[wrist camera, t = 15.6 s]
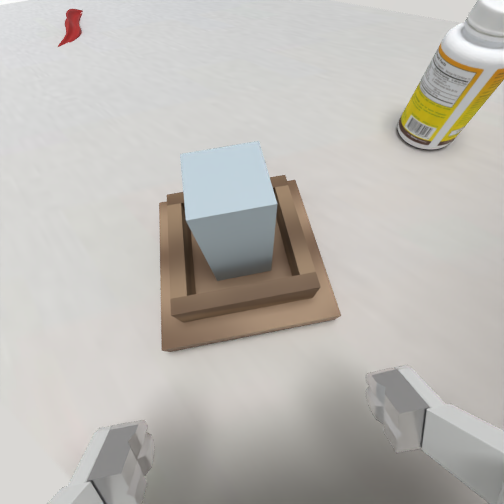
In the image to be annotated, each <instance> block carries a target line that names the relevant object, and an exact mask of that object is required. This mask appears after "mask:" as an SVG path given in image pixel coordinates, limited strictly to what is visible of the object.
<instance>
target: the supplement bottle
mask: <svg viewBox="0 0 504 504" xmlns="http://www.w3.org/2000/svg"><path fill="white" fill-rule="evenodd" d="M503 80H504V0H478V1H477V2H476V4H475V6H474V8H473V9H472V10H471V12H470V13H469V15H468V17H467V19H466V20H465V22H464V23H461V24H459V25H457V26H455V27H453V28H452V29H451V30H450V31H449V32H448V33H447V34H446V35H445V37H444V39H443V40H442V42H441V44H440V46H439V48H438V49H437V51H436V53H435V55H434V57H433V59H432V61H431V62H430V64H429V66H428V68H427V70H426V72H425V73H424V75H423V77H422V79H421V81H420V83H419V85H418V86H417V88H416V90H415V92H414V94H413V96H412V97H411V99H410V101H409V103H408V105H407V107H406V108H405V110H404V112H403V114H402V116H401V118H400V120H399V122H398V132H399V134H400V136H401V137H402V138H403V139H404V140H405V141H406V142H407V143H409V144H411V145H413V146H415V147H418V148H422V149H439V148H442V147H445V146H447V145H448V144H450V143H451V142H452V141H453V140H454V139H455V138H456V137H457V135H458V134H459V133H460V132H461V131H462V129H463V128H464V127H465V126H466V125H467V123H468V122H469V121H470V120H471V118H472V117H473V116H474V115H475V114H476V112H477V111H478V110H479V109H480V108H481V106H482V105H483V104H484V103H485V102H486V100H487V99H488V98H489V97H490V96H491V94H492V93H493V92H494V91H495V90H496V88H497V87H498V86H499V85H500V84H501V82H502V81H503Z"/></svg>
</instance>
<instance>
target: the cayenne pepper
mask: <svg viewBox="0 0 504 504" xmlns="http://www.w3.org/2000/svg"><path fill="white" fill-rule="evenodd" d="M81 12H82V10H77V9H69V10H68V11H67V13H66V17H67V19H66V20H65V27H66V35H65V37H64V39H63V40H62V41H61V43H60V44H59V45H58V47H59V46H61V45H63V44H65V43H68V42H72V41H74V40H75V39H77V38H78V37H79V36H80V34H81V29H80V26H79V20H80V17H81V15H82V14H80V13H81Z"/></svg>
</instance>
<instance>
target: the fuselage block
mask: <svg viewBox="0 0 504 504" xmlns="http://www.w3.org/2000/svg"><path fill="white" fill-rule="evenodd" d="M180 158H181V170H182V181H183V193H184V205H185V216H186V222H187V224H188V226H189V228H190V229H191V231H192V233H193V235H194V237H195V239H196V241H197V243H198V245H199V247H200V249H201V251H202V253H203V254H204V256H205V258H206V260H207V262H208V264H209V266H210V268H211V270H212V272H213V274H214V276H215V278H216V279H217V281H220V280H225V279H230V278H236V277H241V276H246V275H251V274H256V273H261V272H266V271H271V267H272V256H273V246H274V235H275V224H276V213H277V201H276V198H275V194H274V191H273V187H272V184H271V181H270V177H269V174H268V170H267V167H266V164H265V160H264V157H263V153H262V150H261V147H260V143H259V141H256V142H250V143H244V144H238V145H232V146H226V147H220V148H214V149H208V150H202V151H196V152H190V153H184V154H180Z"/></svg>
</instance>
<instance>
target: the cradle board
mask: <svg viewBox="0 0 504 504" xmlns="http://www.w3.org/2000/svg"><path fill="white" fill-rule="evenodd" d="M270 181H271V184H272V187H273V191H274V194H275V198H276V201H277V213H276V224H275V235H274V246H273V256H272V267H271V271H266V272H261V273H256V274H251V275H246V276H241V277H236V278H230V279H225V280H220V281H217V279H216V278H215V276H214V274H213V272H212V270H211V268H210V266H209V264H208V262H207V260H206V258H205V256H204V254H203V253H202V251H201V249H200V247H199V245H198V243H197V241H196V239H195V237H194V235H193V233H192V231H191V229H190V228H189V226H188V224H187V222H186V216H185V205H184V193H183V192H181V193H175V194H169V195H167V202H161V203H159V214H160V274H161V334H162V351H168V352H172V351H177V350H182V349H187V348H192V347H197V346H202V345H207V344H212V343H218V342H223V341H228V340H233V339H238V338H243V337H248V336H253V335H258V334H263V333H268V332H274V331H279V330H284V329H289V328H294V327H299V326H304V325H309V324H314V323H319V322H324V321H330V320H335V319H336V318H338V317H339V316H341V314H340V311H339V308H338V305H337V302H336V299H335V296H334V293H333V290H332V287H331V284H330V281H329V278H328V275H327V272H326V269H325V267H324V264H323V261H322V258H321V255H320V252H319V249H318V246H317V243H316V240H315V237H314V234H313V231H312V228H311V225H310V222H309V219H308V216H307V213H306V210H305V208H304V205H303V202H302V199H301V196H300V193H299V190H298V187H297V184H296V181H295V180H291V181H287V180H286V177H285V175H282V176H276V177H270Z"/></svg>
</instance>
